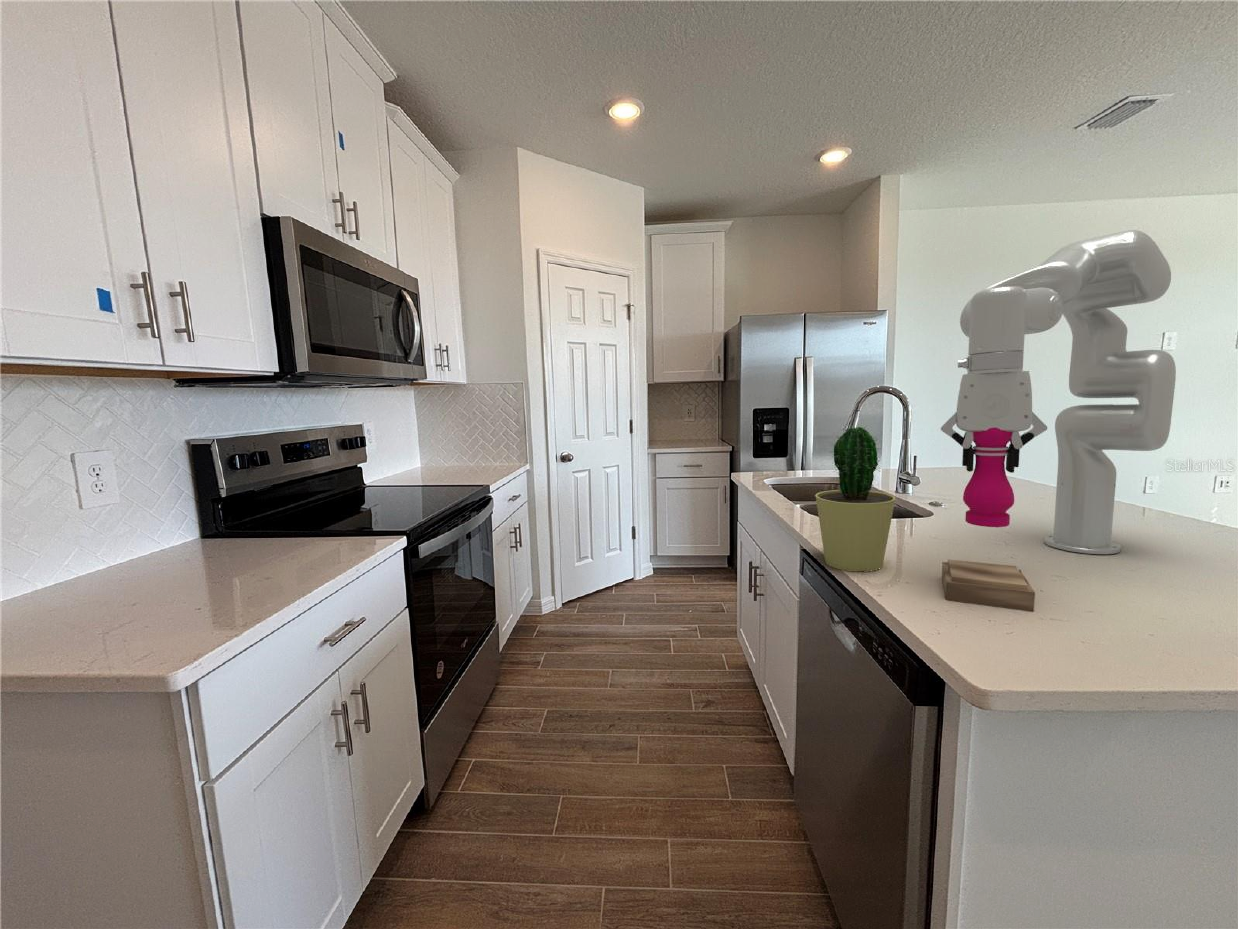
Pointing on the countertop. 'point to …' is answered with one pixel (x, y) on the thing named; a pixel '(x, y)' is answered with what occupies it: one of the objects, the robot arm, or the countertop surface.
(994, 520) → the pepper mill
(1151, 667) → the countertop surface
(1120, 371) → the robot arm
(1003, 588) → the wooden box
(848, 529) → the potted cactus
